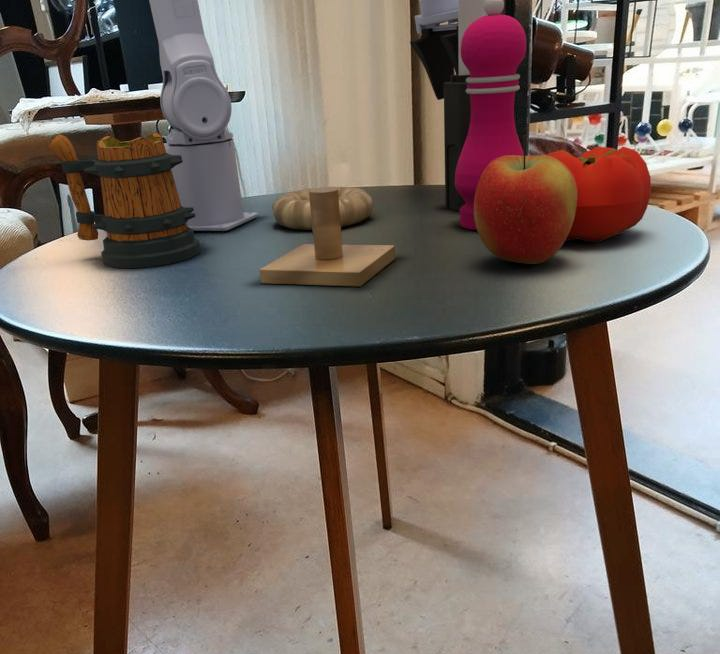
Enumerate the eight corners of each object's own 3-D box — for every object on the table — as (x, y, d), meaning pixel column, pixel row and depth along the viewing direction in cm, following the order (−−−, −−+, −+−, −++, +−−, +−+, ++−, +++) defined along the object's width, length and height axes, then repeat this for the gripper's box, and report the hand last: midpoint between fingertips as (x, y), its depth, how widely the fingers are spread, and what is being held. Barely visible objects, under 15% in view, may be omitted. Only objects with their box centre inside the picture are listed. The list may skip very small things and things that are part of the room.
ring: (257, 232, 83) (253, 203, 82) (299, 211, 92) (296, 185, 91) (352, 233, 80) (349, 202, 78) (386, 211, 88) (384, 184, 87)
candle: (441, 207, 88) (437, -56, 76) (479, 200, 90) (481, -58, 78) (464, 213, 84) (464, -64, 72) (504, 206, 86) (510, -65, 74)
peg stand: (260, 283, 65) (249, 200, 61) (304, 256, 72) (296, 181, 69) (360, 287, 62) (354, 199, 58) (395, 258, 69) (392, 179, 66)
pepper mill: (540, 225, 77) (551, -12, 67) (476, 235, 75) (478, -8, 65) (503, 214, 83) (508, -5, 73) (442, 223, 81) (439, -1, 71)
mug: (215, 241, 80) (196, 120, 75) (185, 266, 72) (161, 131, 66) (98, 247, 82) (70, 129, 76) (54, 272, 73) (20, 141, 68)
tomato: (530, 252, 67) (533, 161, 64) (524, 226, 77) (527, 145, 73) (657, 248, 66) (668, 154, 62) (635, 221, 75) (644, 138, 72)
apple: (585, 254, 66) (595, 126, 61) (555, 279, 60) (562, 139, 55) (496, 249, 70) (498, 128, 65) (459, 271, 64) (459, 140, 59)
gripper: (504, -53, 79) (518, 91, 86) (445, -37, 91) (462, 88, 98) (441, -36, 78) (461, 108, 85) (391, -23, 90) (412, 103, 97)
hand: (458, 98), depth 91 cm, fingers open, 7 cm apart
